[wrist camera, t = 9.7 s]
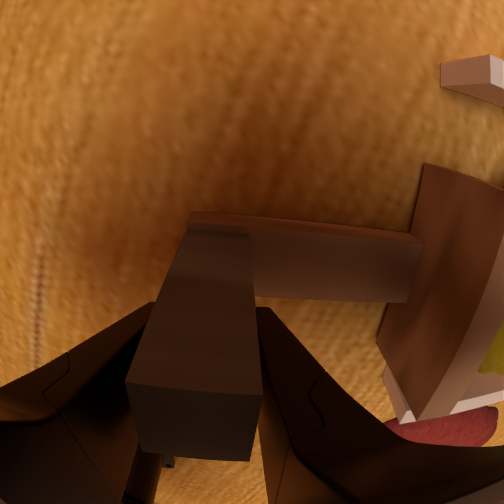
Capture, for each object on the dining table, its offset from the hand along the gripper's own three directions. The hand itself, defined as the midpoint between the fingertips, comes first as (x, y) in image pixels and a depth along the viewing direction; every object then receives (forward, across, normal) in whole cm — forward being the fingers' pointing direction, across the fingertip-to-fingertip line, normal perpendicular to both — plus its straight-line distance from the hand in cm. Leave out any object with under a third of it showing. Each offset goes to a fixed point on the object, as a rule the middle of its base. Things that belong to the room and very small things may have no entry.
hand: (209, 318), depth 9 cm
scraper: (+6, -4, 0) cm, 7 cm away
